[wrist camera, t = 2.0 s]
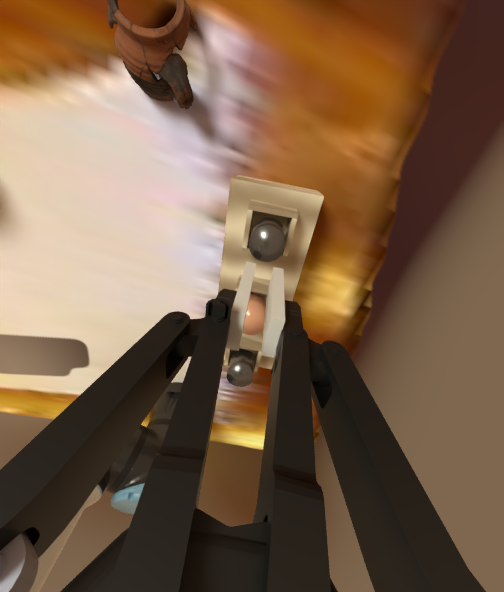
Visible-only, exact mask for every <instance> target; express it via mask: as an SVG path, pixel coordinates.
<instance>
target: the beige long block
mask: <svg viewBox="0 0 504 592" xmlns="http://www.w3.org/2000/svg"><path fill="white" fill-rule="evenodd" d="M323 199H324V196H323V195H322V194H321V193H320V192H319V191H317V190H312V189H307V188H302V187H297V186H292V185H287V184H282V183H276V182H271V181H266V180H261V179H256V178H251V177H246V176H241V175H237V176H235V177H232V178H231V181H230V190H229V200H228V209H227V218H226V227H225V236H224V246H223V255H222V264H221V273H220V282H219V291H218V293H219V292H220V291H221V290H222V289H229V290H234V291H238V287H239V284H240V281H241V278H242V275H243V271H244V268H245V265H246V262H251V263H256V268H255V273H254V278H253V284H252V289H251V294H257V295H260V296H262V297H263V298H264V299H265V301H266V297H267V293H268V289H269V284H270V280H271V276H272V272H273V267H276V268H281V269H283V271H284V299H285V300H288V301H292V300H293V297H294V294H295V291H296V287H297V284H298V281H299V277H300V274H301V271H302V268H303V264H304V261H305V258H306V255H307V251H308V248H309V245H310V241H311V238H312V235H313V232H314V228H315V225H316V222H317V219H318V215H319V212H320V209H321V205H322V202H323ZM265 217H272V218H275V219H277V220H278V221H280V222H281V224H282V225H283V228H284V233H285V249H284V252H283V254H282V255H281V256H280V257H279V258H278V259H276V260H274V261H271V262H263V261H260V260H258V259H256V258H255V257H254V256H253V255H252V254H251V252H250V250H249V239H250V236H251V233H252V230H253V228H254V225H255V224H256V223H257V222H258V221H259V220H260V219H262V218H265ZM262 341H263V331H262V332H261V333H259V334H256V335H247V334H244V333H242V337H241V342H240V347H239V349H246V350H249V351H250V352H252V354H253V355H254V367H253V373H256V374H257V371H258V367H262V368H267V369H272V366H273V363H274V359H275V356H276V353H275V356H274V358H272V357H267V356H262V355H261V352H262ZM234 351H235V350H232V349H227V348H225V355H224V360H225V363H224V367H226V368H229V364H230V360H231V356H232V353H233V352H234Z"/></svg>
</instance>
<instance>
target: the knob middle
mask: <svg viewBox="0 0 504 592" xmlns="http://www.w3.org/2000/svg"><path fill="white" fill-rule="evenodd" d="M265 308H266V301H265V299H264V298H263V297H262V296H260V295H257V294H250V299H249V304H248V308H247V313H246V318H245V323H244V328H243V332H242V333H244V334H247V335H256V334H259V333H261V332H262V331H263V330H264V319H265Z"/></svg>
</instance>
